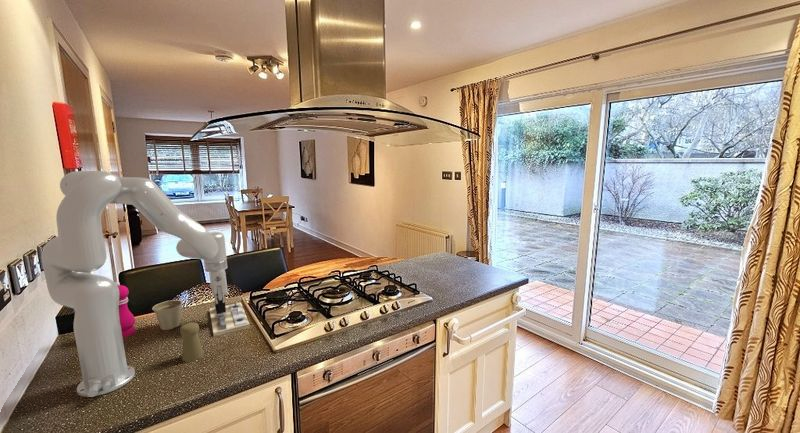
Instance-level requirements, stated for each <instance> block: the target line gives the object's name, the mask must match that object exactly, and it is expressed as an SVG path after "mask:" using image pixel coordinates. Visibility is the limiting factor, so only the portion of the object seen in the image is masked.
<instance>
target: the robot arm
mask: <svg viewBox="0 0 800 433" xmlns="http://www.w3.org/2000/svg"><path fill="white" fill-rule="evenodd" d="M59 188H60V192H62V194H63V195H64V197H63V198H62V200H61V202H60V203H59V205H58V208H57V211H56V216H55V217H56V218H55V219H56V227H57V229H56V230H57V236H54V237H53V238H51V239H49V240H48V241H47V242H46V244H45V245H44V247H43V248H42V252H41V262H42V263H41V265H42V269H43V272H44V273H43V274H44V278H45V282H46V288H47V291H48V294H49V296H50V298H51V300H52V301H53V302H54V303H56V304H58V305H60V306H63V307H67V308H71V309H73V310H74V319H73V335H74V339H75V343H76V349H77V356H78V360H79V365H80V366H79V367H80V372H81V378H82V380H81V382H80V383H79V384H78V385H77V387H76V393H77V395H78V396H80V397H85V398H90V397H91V398H93V397H98V396H101V395H105V394H108V393H111V392H113V391H116V390H118V389H119V388H122V387H124V386H125V385H127V384H128V383H129V382H131V381H132V380H133V378H134V377H135V375H136V371H135V370H136V369H135V368H134V367H133V366H130V365H128V364H127V363H128V362H127V358H126V350H125V345H124V338H123V337H122V331H121V325H120V319H119V289H118V286H117V285H116V284H115V282H116V281H114V280H112V279H110V278H108V277H106V276H102V275H98V274H94V273H93V274H92V273H91V272H95V271H97V270H99V269H102V267H103V266H104V265H105V263H106V261H107V250H106V244H105V238H104V233H103V228H102V227H103V226H102V215H103V212H104V210H105V209H106V207H107V206H108V205H109V204H112V205H113V204H114V205H132V206H133V207H134V208H136V210H137V211H139V213H140V214H141V215H143V216H144V217H145V218H146V219H147V220H148V221H149V222H150V223H151V225H153V227H155V229H158V230H160V231H161V232H164V233H165V234H169V235H171V236H174V237H175V238H179V240H178V242H177V243H176V245H175V246H176V247H175V249H176V252H177V253H178V255H180V256H181V257H184V258H190V259H196V260H203V262H204V263H203V264H204V272H206V273H208V275H209V282H210V288H211V292H212V295H213V297H214V308H216V313H217V314H219V313H223V312H226V307H225V303H226V302H225V296H228V295H229V292H228V291H229V290H228V283H227V276H226V275H227V273H226V269H228V260H227V259H228V258H227V247H226V241H225V240H226V239H225V234H224V233H222V232H220V231H219V232H217V231H215V232H214V231H213V232H210V231H209V230H208V229H207V228H205V227H204V226H203V225H202V224H200V223H199V222H197V220H195V219H193V218H192V217H190V216H189V215H188V214H186V213H184V212H182V211H181V210H180V209H179V208H178V207H177V205H176V204H174V202H172V200H171V199H170V198H169V196H168V195H167V194H166V193H165V192H164V191H163V190H162V189H161V188H160V187H159V186H158V184H157V183H155V181H153V180H151V179H149V178H147V177H139V176H137V177H135V176H133V177H129V176H126V177H125V176H117V175H115V174H113V173H111V172H108V171H103V170H76V171H72V172H71V171H70V172H68V173H67V174H65V175H64V176H63V177H61V179H60V183H59ZM215 300H216V302H215Z"/></svg>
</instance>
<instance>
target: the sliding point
mask: <svg viewBox="0 0 800 433" xmlns="http://www.w3.org/2000/svg"><path fill="white" fill-rule="evenodd" d="M215 302H216V300H215V299H214V303H215ZM233 311H237V314H239V310H238V308H235V309H230V310H226V312H223V313H219V314H217V313H216V319H217V320H219V319H218V317H219V316H224V315H225V318H227V313H228V312H233Z"/></svg>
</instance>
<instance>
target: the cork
mask: <svg viewBox="0 0 800 433" xmlns="http://www.w3.org/2000/svg"><path fill="white" fill-rule="evenodd" d="M199 331H200V325H199V324H198V323H197V322H188V323H185V324H183V325H181V327H180V330H179V332H180V335H181V336H182V351H181V352H182V354H181V355H182V356H181V360H182V361H183V362H185V363H187V362H189V363H190V362H194V361H197V360H200V359H201V358H202V357H203V356H204V355H205V353H204V350H203V346H202V342H201V339H200V336H199Z"/></svg>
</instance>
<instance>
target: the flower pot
mask: <svg viewBox="0 0 800 433" xmlns="http://www.w3.org/2000/svg"><path fill="white" fill-rule="evenodd" d="M182 304H183V300H179V299H175V300H174V299H173V300H166V301H163V302H160V303H157V304H155V305H154V306H152V308H151V310H152V311H153V312H154V314H155V315H156V316H155V317H156V319H157V322H158V325H159V328H160V330H163V331H169V330H173V329H175V328H177V327H179V326H180V325H181V308H182Z"/></svg>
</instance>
